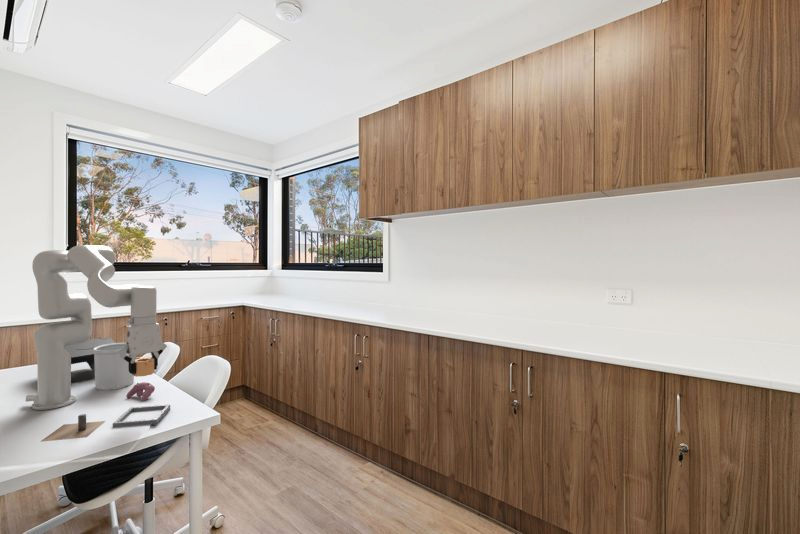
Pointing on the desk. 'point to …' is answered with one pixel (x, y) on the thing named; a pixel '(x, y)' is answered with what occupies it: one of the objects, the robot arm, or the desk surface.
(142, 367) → the collar
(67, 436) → the base
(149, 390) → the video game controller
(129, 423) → the tray
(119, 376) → the utensil holder
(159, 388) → the desk surface
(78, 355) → the portable electronic device stand
